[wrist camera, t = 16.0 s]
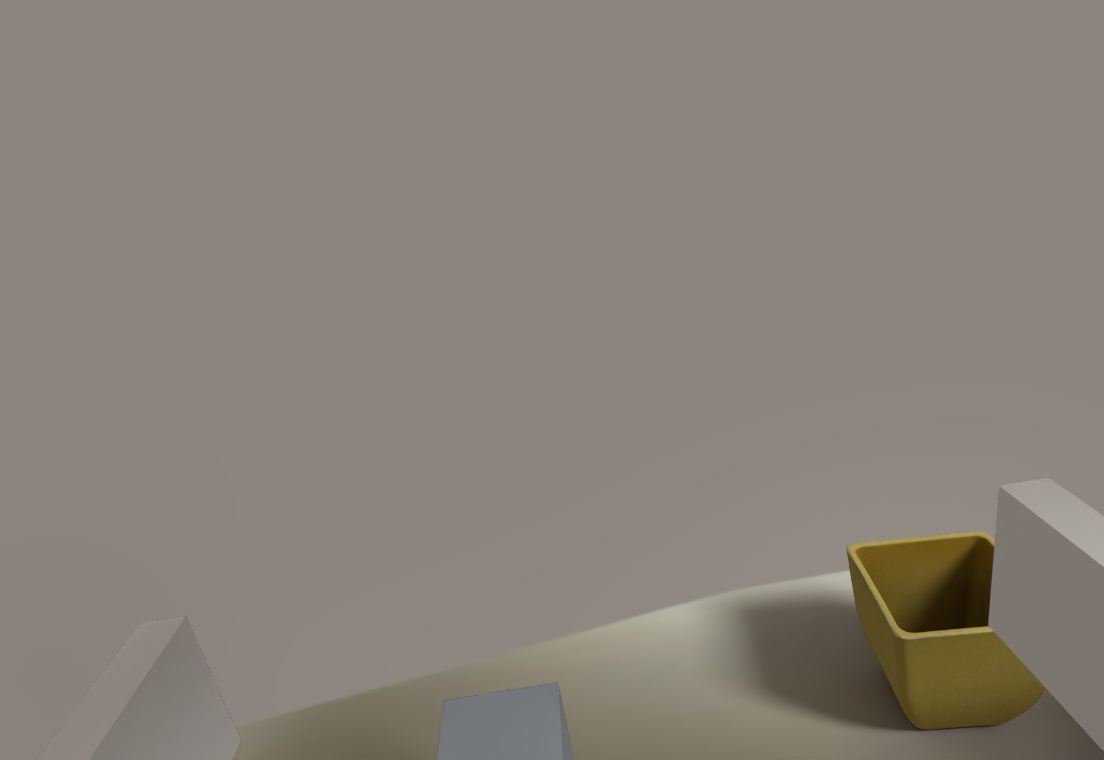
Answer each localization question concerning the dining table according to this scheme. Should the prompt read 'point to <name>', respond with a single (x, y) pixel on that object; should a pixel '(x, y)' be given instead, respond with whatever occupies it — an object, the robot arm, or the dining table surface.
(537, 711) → the plug
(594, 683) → the dining table surface
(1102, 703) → the robot arm
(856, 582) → the flower pot
